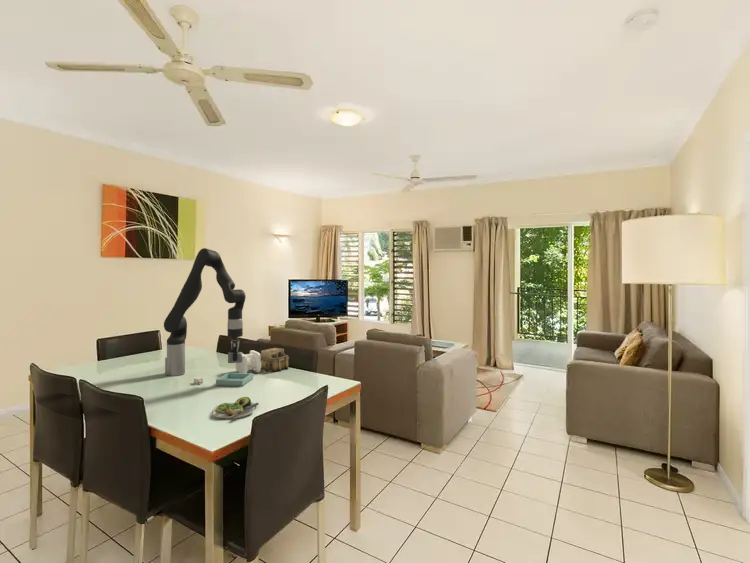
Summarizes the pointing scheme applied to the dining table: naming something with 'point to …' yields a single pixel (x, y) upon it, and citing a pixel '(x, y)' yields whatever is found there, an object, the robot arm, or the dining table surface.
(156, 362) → the dining table surface
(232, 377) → the tray
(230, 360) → the connector
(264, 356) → the miniature house
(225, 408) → the salad plate
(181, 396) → the dining table surface
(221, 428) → the dining table surface
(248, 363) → the cable organizer
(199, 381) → the small plug
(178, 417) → the dining table surface
